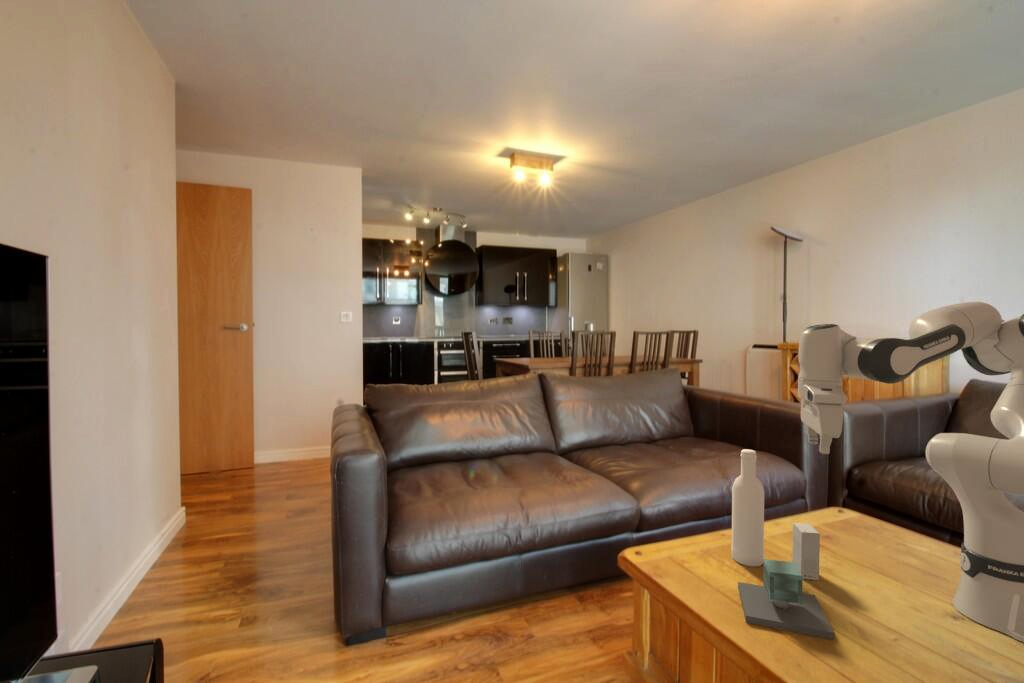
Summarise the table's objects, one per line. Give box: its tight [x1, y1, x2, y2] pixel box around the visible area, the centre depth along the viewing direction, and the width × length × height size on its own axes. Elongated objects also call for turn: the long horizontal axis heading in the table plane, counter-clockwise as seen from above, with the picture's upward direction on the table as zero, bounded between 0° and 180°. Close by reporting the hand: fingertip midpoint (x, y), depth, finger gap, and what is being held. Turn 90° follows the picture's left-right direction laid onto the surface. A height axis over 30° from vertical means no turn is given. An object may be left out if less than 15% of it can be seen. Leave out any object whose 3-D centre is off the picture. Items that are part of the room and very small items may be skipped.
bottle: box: [730, 448, 765, 567], centre depth 125 cm, size 8×8×30 cm
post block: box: [737, 581, 835, 641], centre depth 102 cm, size 16×14×9 cm
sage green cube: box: [762, 558, 803, 604], centre depth 102 cm, size 6×6×6 cm
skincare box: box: [791, 522, 821, 581], centre depth 117 cm, size 6×4×12 cm
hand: (818, 448), depth 111 cm, fingers open, 8 cm apart
